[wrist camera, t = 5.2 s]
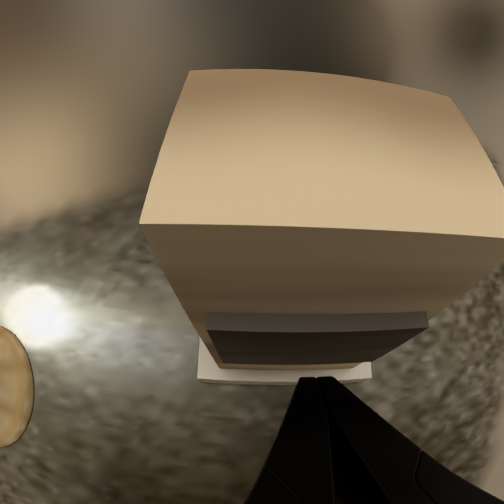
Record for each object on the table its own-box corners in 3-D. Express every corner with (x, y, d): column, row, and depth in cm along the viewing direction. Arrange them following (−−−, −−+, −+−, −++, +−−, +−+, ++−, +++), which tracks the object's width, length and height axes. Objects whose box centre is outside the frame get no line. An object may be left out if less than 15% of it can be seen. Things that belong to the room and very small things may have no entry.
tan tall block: (352, 376, 13) (533, 261, 4) (218, 377, 13) (131, 252, 4) (346, 288, 15) (449, 97, 6) (224, 286, 15) (189, 70, 6)
